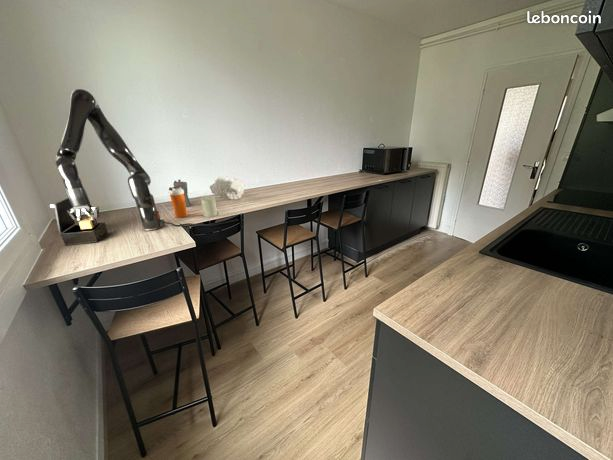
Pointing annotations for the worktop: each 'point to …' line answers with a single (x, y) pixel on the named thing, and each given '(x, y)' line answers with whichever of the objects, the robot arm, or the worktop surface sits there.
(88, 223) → the sandwich
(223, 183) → the crumpled white cloth
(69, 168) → the robot arm
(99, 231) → the dark brown box
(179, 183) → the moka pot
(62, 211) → the lid
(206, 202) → the can
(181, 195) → the shaker bottle
